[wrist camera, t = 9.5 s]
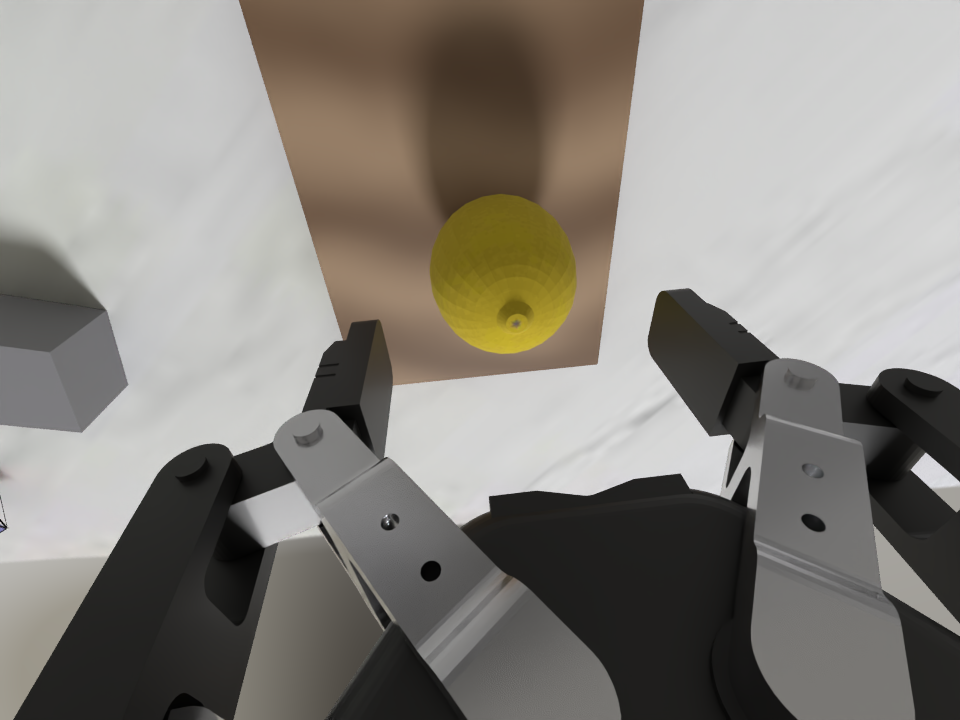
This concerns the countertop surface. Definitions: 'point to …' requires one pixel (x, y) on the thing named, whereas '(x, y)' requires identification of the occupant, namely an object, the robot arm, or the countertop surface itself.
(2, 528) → the geometric puzzle
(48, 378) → the gray block
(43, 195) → the countertop surface
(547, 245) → the lemon
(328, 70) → the walnut board
